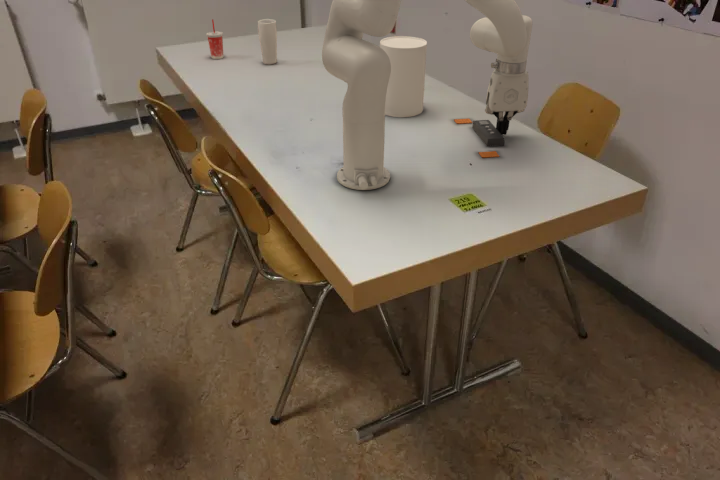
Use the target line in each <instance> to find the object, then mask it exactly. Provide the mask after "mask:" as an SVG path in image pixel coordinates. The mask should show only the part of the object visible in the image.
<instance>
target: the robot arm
mask: <svg viewBox="0 0 720 480" xmlns="http://www.w3.org/2000/svg"><path fill="white" fill-rule="evenodd" d="M464 1H465V2H466V3H467V4H468V5H469V6H470V7H473V8H474V9H475V10H477V11H478V12H480V13H481V14H483V15H484V16H485V17H482V18H480V19H477V20H476V21H475V22H474V23H473V24H472V26H471V28H470V30H469V39H470V42H471V43H472V44H473V45H474V46H475V47H476V48H478V49H481V50H483V51H487V52H489V53H493V54H497V55H496V58H495V61H494V62H491V63H490V68H491V69H493V71H492V73H491V76H490V79H489V83H488V88H487V91H486V92H487V93H486V98H485V105H486V106H485V109H484V112H485V113H486V114H487V115H491V116H492V115H493V116H494V117H495V118H496V125H495V128H496V129H497V130H498V131H499V132H500V133H501V135H502V136H503V135H504V136H505V135H507V132H508V130H509V127H510V121H512V120H513V117H514V116H516V115H517V114H520V113H523V112H525V110H526V109H527V106H528V101H529V89H530V88H529V83H530V82H529V80H530V79H529V71H527V70H526V69H527V63H528V57H529V56H528V55H529V50H530V44H531V36H532V30H533V19H532V18H531V17H530V16H529V15H525V14H523V13H522V10H521V8H520V6H519V5H518V3H517V2H516V0H464ZM401 3H402V0H332V2H331V4H330V8H329V14H328V18H327V22H326V28H325V33H324V37H323V43H322V49H321V61H322V65H323V67H324V68H325V70H326V71H327V73H329V74H330V75H331V76H333V77H335V78H337V79H339V80H341V81H342V82H344V83H346V84H347V89H346V91H345V94H344V97H343V101H342V107H341V108H342V113H341V114H342V151H343V152H342V154H343V156H342V158H343V160H342V161H343V163H342V164H343V166H342V167H341V168H339V169H338V171H337V173H336V179H337V182H338V183H339V184H340V185H341V186H343V187H344V188H345V187H346V188H348V189H351V190H355V191H356V190H357V191H370V190H376V189H380V188H382V187H384V186H386V185H387V184H388V183H389V182H390V179H391V173H390V170H389V169H387V168H386V167H385V138H386V137H385V135H386V134H385V133H386V132H385V131H386V115H385V102H386V93H387V87H388V82H389V78H390V73H391V63H390V59H389V57H388V55H387V54H386V52H385V51H384V50H383V49H382V48H380V45H377V44H375V43H372V42H370V41H367V40H366V39H365V40H364V39H363V36H364V34H365V35H368V36H371V37H374V38H375V37H377V38H383V37H386V36H388V35H389V34H390V33H391V32H392V31H393V29H394V27H395V26H396V23H397V19H398V15H399V10H400V7H401Z"/></svg>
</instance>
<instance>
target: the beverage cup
mask: <svg viewBox="0 0 720 480" xmlns="http://www.w3.org/2000/svg"><path fill="white" fill-rule="evenodd" d="M214 21H215V20H214V19H213V18H212V19H211V22H212V31H209V32H206V34H205V35H206V37H207V43H208V47H209V52H210V57H211V59H212V60H221V59H224V55H225V54H224V41H223V40H224V39H223V36H224V33H223V32H222V31H216V29H215V22H214Z"/></svg>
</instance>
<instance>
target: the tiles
mask: <svg viewBox="0 0 720 480" xmlns="http://www.w3.org/2000/svg"><path fill="white" fill-rule="evenodd" d="M453 121H454V122H455V124H456V125H464V124H473V120H471V119H470V118H455V119H453ZM478 154H479V156H480V157H481V158H482V159H491V158H500V155H499V154H498V152H497V151H496V150H492V151H479V152H478Z"/></svg>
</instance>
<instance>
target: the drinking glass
mask: <svg viewBox="0 0 720 480" xmlns="http://www.w3.org/2000/svg"><path fill="white" fill-rule="evenodd" d="M277 28H278V27H277V20H276V19H271V18H263V19H259V20H257V34H258V39H259V45H260V50H261V58H262V63H263V64H264V65H275V64H278V63H277V62H278V29H277Z"/></svg>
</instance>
